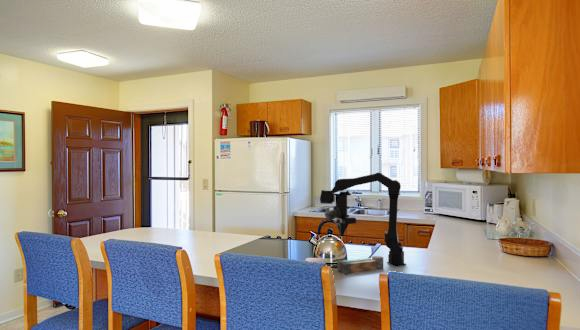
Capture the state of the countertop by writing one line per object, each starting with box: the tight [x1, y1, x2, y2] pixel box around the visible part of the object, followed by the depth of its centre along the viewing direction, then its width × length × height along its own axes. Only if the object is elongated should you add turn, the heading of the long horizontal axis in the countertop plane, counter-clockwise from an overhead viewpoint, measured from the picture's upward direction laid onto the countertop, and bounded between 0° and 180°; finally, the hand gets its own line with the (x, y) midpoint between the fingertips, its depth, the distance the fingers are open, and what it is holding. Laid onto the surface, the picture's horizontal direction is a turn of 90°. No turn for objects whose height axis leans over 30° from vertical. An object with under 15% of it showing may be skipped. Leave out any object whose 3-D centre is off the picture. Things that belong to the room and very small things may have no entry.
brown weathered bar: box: [336, 257, 372, 273], centre depth 170 cm, size 16×3×4 cm, turn 111°
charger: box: [304, 257, 327, 266], centre depth 166 cm, size 5×9×15 cm
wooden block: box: [341, 255, 384, 276], centre depth 169 cm, size 22×6×5 cm, turn 112°
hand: (341, 235), depth 187 cm, fingers closed
